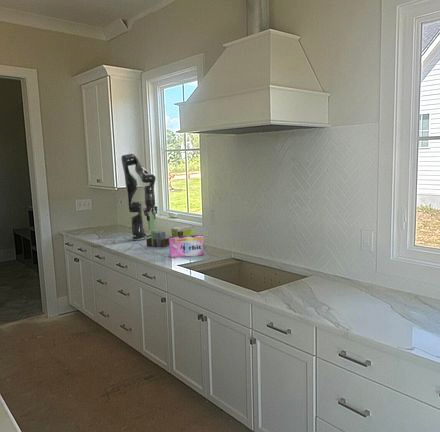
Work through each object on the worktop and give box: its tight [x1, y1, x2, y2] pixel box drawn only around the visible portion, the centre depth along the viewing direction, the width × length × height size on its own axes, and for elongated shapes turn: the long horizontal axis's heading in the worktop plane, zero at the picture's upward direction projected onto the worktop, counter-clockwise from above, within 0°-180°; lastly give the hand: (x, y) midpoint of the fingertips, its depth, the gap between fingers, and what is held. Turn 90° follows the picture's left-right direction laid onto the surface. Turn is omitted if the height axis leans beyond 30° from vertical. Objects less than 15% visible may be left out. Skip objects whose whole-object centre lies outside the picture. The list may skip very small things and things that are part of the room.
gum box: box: [168, 234, 205, 258], centre depth 293 cm, size 24×8×14 cm, turn 103°
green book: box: [147, 213, 156, 231], centre depth 324 cm, size 6×2×12 cm, turn 160°
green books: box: [150, 229, 161, 246], centre depth 325 cm, size 6×4×12 cm, turn 160°
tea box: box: [170, 225, 195, 237], centre depth 328 cm, size 15×10×15 cm, turn 134°
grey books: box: [156, 230, 167, 248], centre depth 323 cm, size 6×4×11 cm, turn 160°
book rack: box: [145, 237, 170, 249], centre depth 324 cm, size 10×15×7 cm, turn 70°
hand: (151, 220), depth 324 cm, fingers closed on green book, 6 cm apart
